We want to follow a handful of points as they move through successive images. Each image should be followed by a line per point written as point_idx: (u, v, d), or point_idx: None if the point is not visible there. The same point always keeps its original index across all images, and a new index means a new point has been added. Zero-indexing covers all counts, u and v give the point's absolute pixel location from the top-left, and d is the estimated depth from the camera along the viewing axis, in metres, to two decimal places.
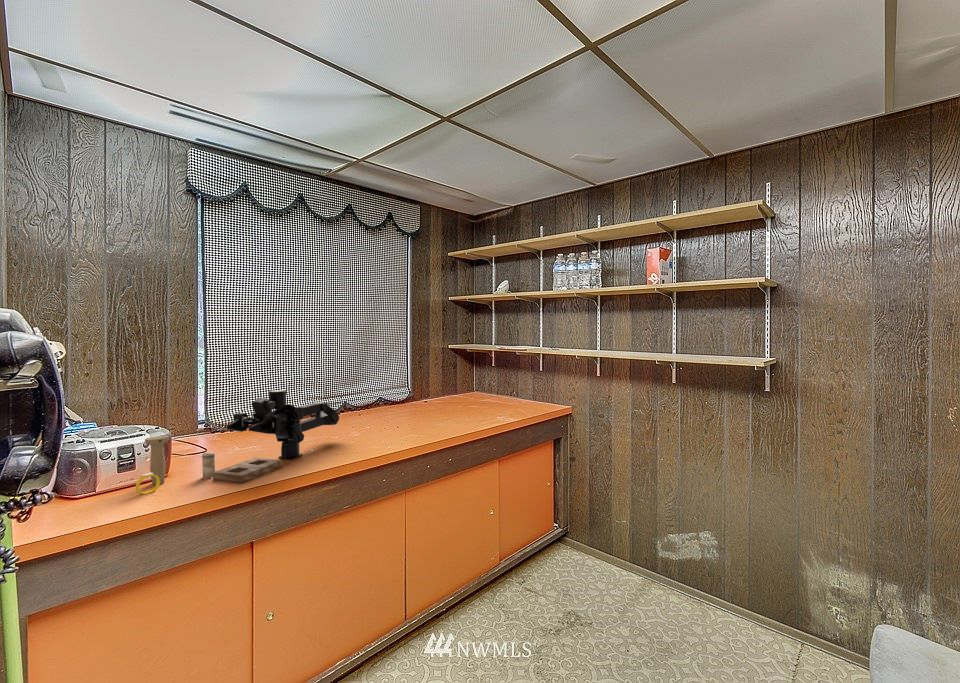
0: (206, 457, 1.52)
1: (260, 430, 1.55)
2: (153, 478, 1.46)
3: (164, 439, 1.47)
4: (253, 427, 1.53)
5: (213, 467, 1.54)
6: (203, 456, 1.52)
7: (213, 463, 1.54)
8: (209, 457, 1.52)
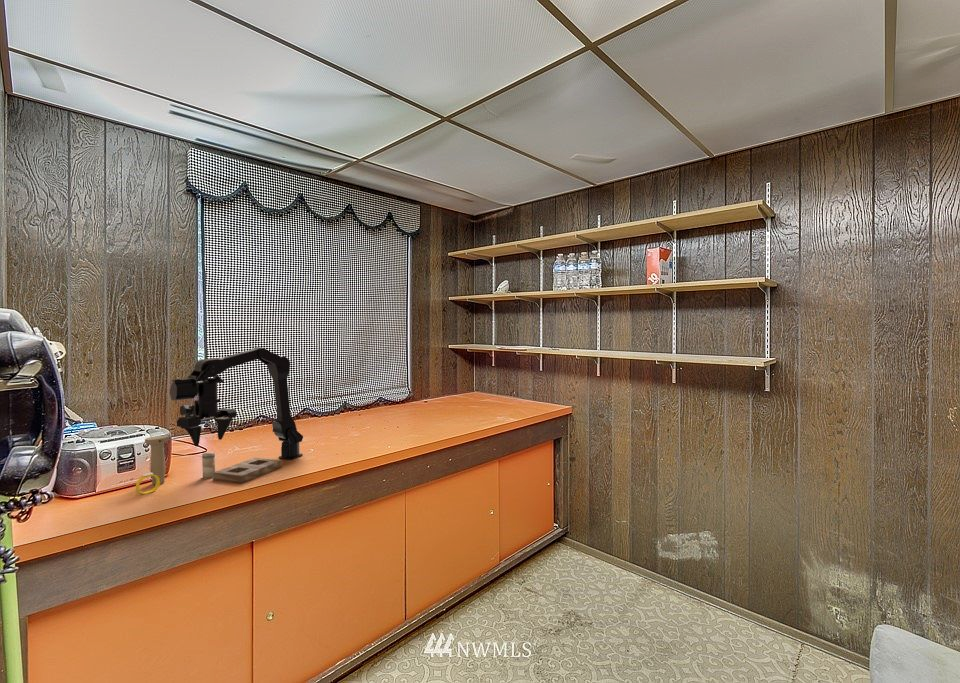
0: (206, 457, 1.52)
1: (195, 436, 1.48)
2: (153, 478, 1.46)
3: (164, 439, 1.47)
4: (194, 442, 1.49)
5: (213, 467, 1.54)
6: (203, 456, 1.52)
7: (213, 463, 1.54)
8: (209, 457, 1.52)
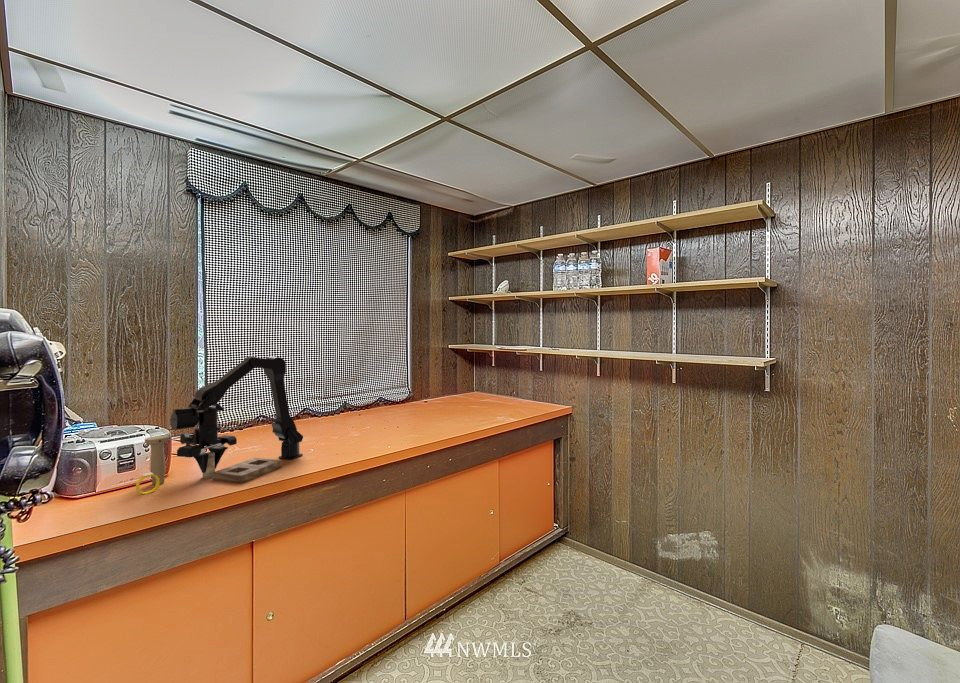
0: None
1: (202, 463, 1.51)
2: (153, 478, 1.46)
3: (164, 439, 1.47)
4: (201, 468, 1.52)
5: (213, 467, 1.54)
6: None
7: (213, 463, 1.54)
8: (208, 457, 1.52)
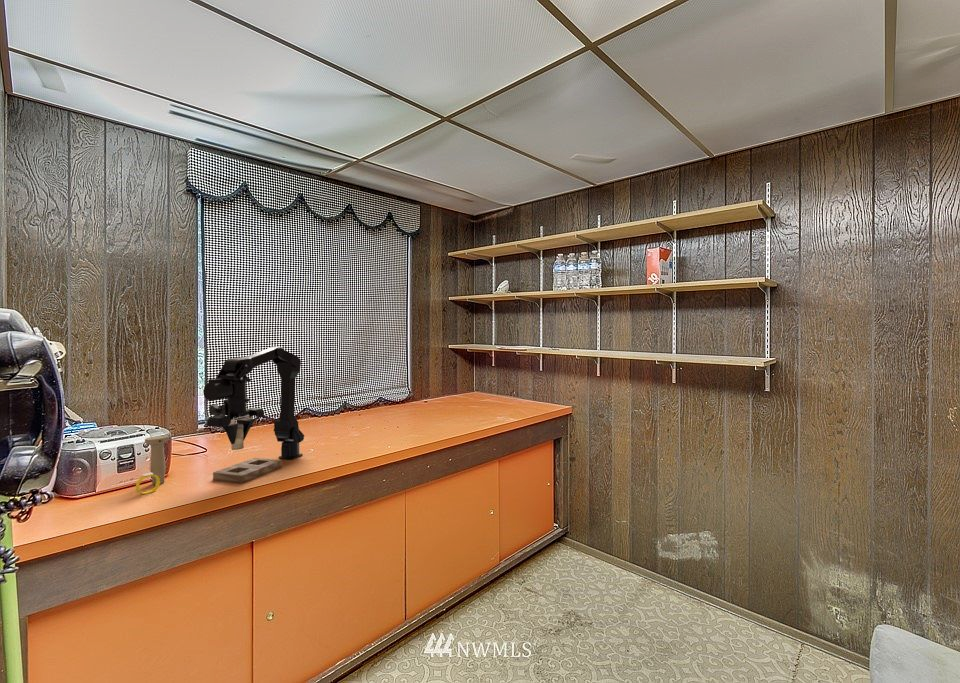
0: None
1: (232, 433, 1.50)
2: (153, 478, 1.46)
3: (164, 439, 1.47)
4: (230, 439, 1.51)
5: (242, 438, 1.53)
6: None
7: (242, 434, 1.53)
8: (237, 428, 1.52)
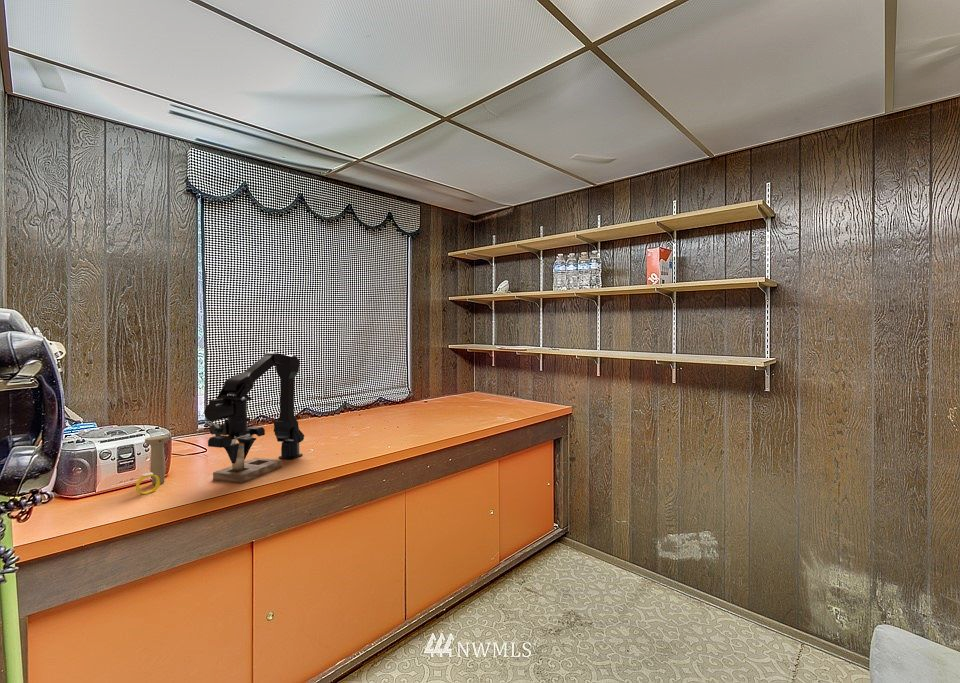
0: None
1: (233, 453, 1.50)
2: (153, 478, 1.46)
3: (164, 439, 1.47)
4: (231, 459, 1.51)
5: (243, 458, 1.53)
6: None
7: (243, 454, 1.53)
8: (238, 447, 1.52)
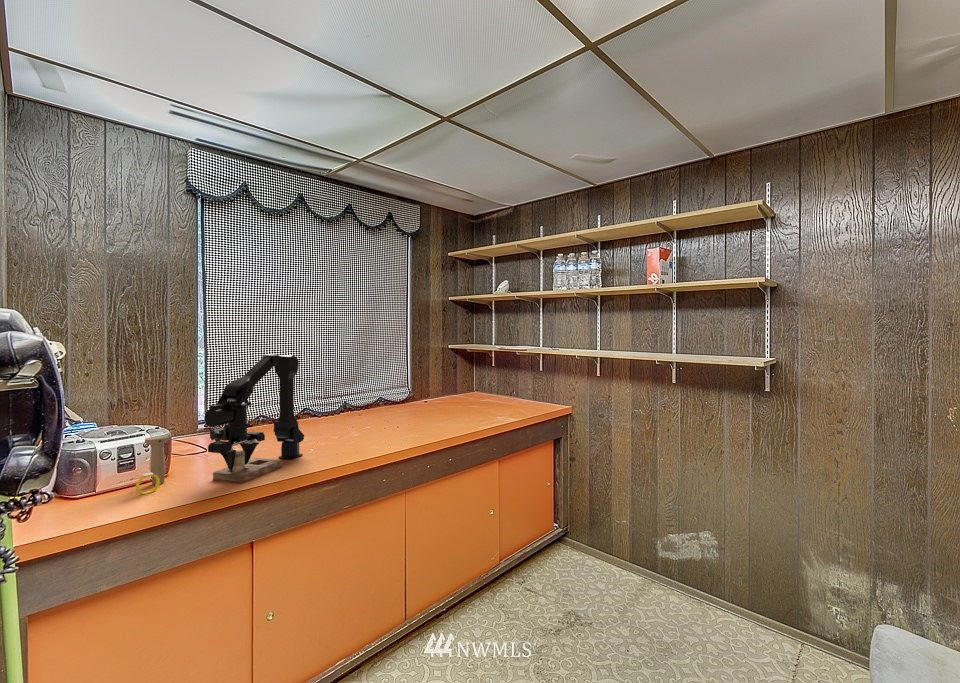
0: (237, 455, 1.52)
1: (230, 459, 1.49)
2: (153, 478, 1.46)
3: (164, 439, 1.47)
4: (228, 465, 1.50)
5: (243, 466, 1.53)
6: None
7: (243, 462, 1.53)
8: (239, 455, 1.52)
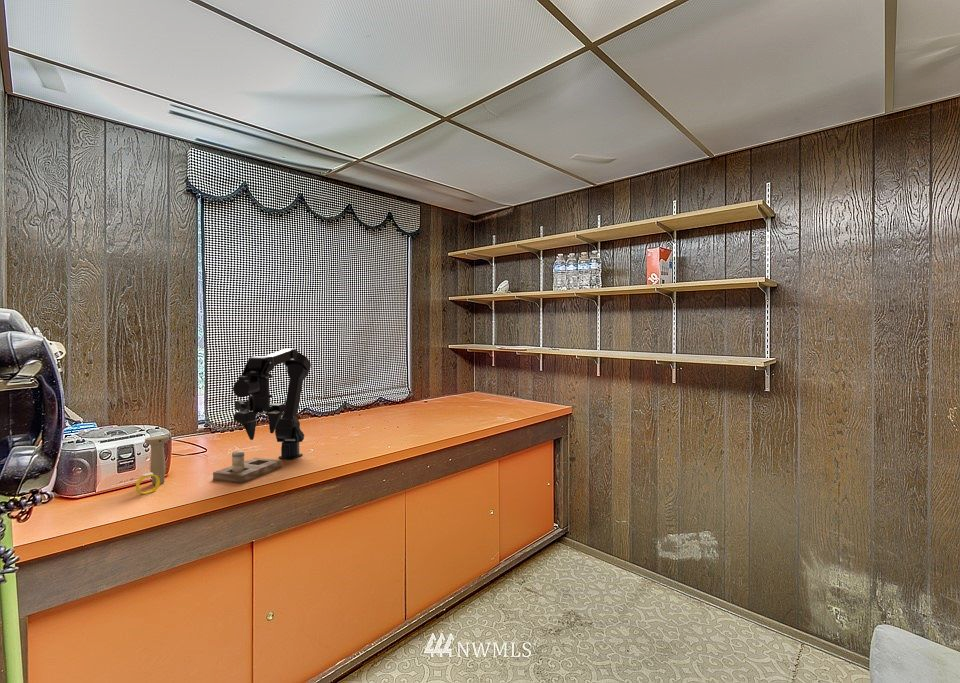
0: (236, 456, 1.52)
1: (251, 430, 1.54)
2: (153, 478, 1.46)
3: (164, 439, 1.47)
4: (249, 435, 1.55)
5: (243, 466, 1.53)
6: (233, 455, 1.52)
7: (243, 462, 1.53)
8: (239, 456, 1.52)
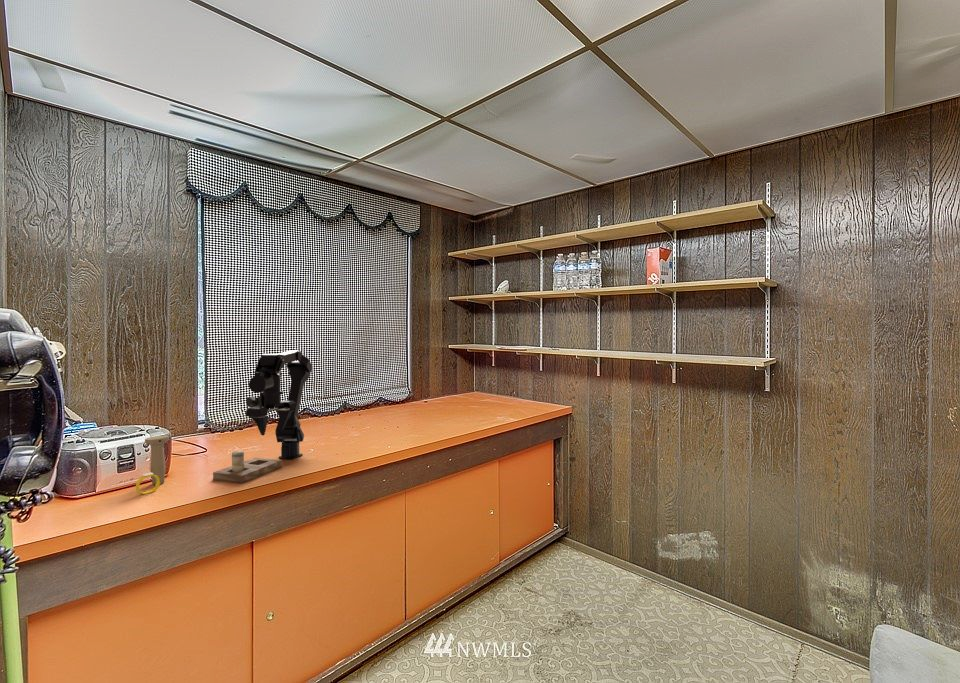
0: (236, 456, 1.52)
1: (262, 425, 1.57)
2: (153, 478, 1.46)
3: (164, 439, 1.47)
4: (260, 431, 1.58)
5: (243, 466, 1.53)
6: (233, 455, 1.52)
7: (243, 462, 1.53)
8: (238, 455, 1.52)
